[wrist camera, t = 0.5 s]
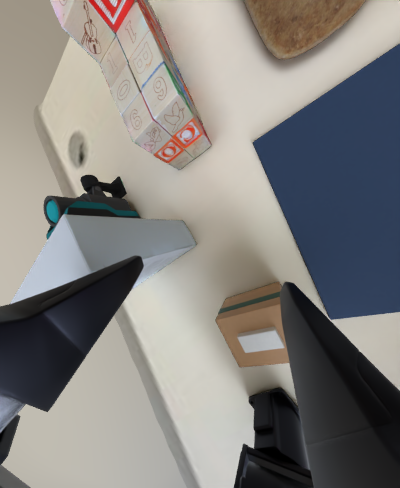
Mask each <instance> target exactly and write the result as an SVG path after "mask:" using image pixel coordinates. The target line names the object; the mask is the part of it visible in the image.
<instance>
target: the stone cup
mask: <svg viewBox="0 0 400 488" xmlns="http://www.w3.org/2000/svg"><path fill="white" fill-rule="evenodd" d="M244 1H245V4H246V6H247V9H248V11H249V14H250V16H251V18H252V21H253V23H254V25H255V27H256V29H257V31H258V33H259V35H260V37H261V38H262V40H263V42H264V44H265V45H266V47H267V48H268V50H269V51H270V52H271V53H272V54H273V55H274V56H275V57H276V58H279V59H282V60H285V59H290V58H294V57H296V56H298V55H300V54H302V53H304V52H306V51H308V50H310V49H312V48H313V47H315V46H316V45H318V44H319V43H321V42H322V41H324V40H325V39H326V38H328V37H329V36H330V35H331V34H333V33H334V32H335V31H336V30H337V29H339V28H340V27H341V26H342V25H344V24H345V23H346V22H347V21H348V20H349V19H350V18H351V17H352V16H353V15H354V14H355V13H356V12H357V11H358V10H359V8H360V7H361V6H362V5H363V3H364V2H365V0H244Z"/></svg>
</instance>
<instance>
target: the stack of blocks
mask: <svg viewBox="0 0 400 488" xmlns="http://www.w3.org/2000/svg"><path fill="white" fill-rule="evenodd" d="M50 2H51V4H52V7H53V9H54V11H55V13H56V16H57V18H58V20H59V22H60V24H61V27H62V28H63V29H64V30H65V31H66V32H67V33H68V34H69V35H70V36H71V37H72V38H73V39H74V40H75V41H76V42H77V43H78V44H79V45H80V46H81V47H82V48H83V49H84V50H85V51H86V52H87V53H88V54H90V55H91V56H92V57H93V58H94V59H95V60H96V61H97V62H98V63H99V64H100V67H101V69H102V71H103V74H104V76H105V78H106V81H107V83H108V85H109V87H110V91H111V94H112V96H113V98H114V101H115V103H116V105H117V108H118V110H119V112H120V115H121V116H122V117H123V120H124V122H125V124H126V127H127V129H128V132H129V133H130V136H131V138H132V141H133V142H134V143H136V144H137V145H139V146H141V147H142V148H144V149H146V150H147V151H149V152H151V153H152V154H153V155H154V156H155V157H157V158H159V159H160V160H162V161H164V162H166V163H168V164H169V165H171V166H173V167H175V168H176V169H178V170H180V169H181V168H183V167H184V166H185V165H187V164H188V163H189V162H191V161H192V160H193V159H194V158H196V157H197V156H199V155H200V154H201V153H203V152H204V151H205V150H206V149H208V148H209V147H210V146H211V143H210V141H209V138H208V136H207V134H206V132H205V130H204V127H203V123H202V121H201V119H200V117H199V114H198V112H197V110H196V108H195V105H194V103H193V100H192V98H191V96H190V94H189V91H188V89H187V87H186V85H185V84H184V81H183V79H182V77H181V74H180V72H179V70H178V68H177V65H176V63H175V61H174V59H173V56H172V54H171V52H170V48H169V46H168V43H167V41H166V39H165V37H164V34H163V32H162V30H161V27H160V25H159V22H158V20H157V18H156V15H155V13H154V11H153V9H152V7H151V5H150V4H149V2H148V0H50Z"/></svg>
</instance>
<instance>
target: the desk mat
mask: <svg viewBox="0 0 400 488" xmlns="http://www.w3.org/2000/svg"><path fill="white" fill-rule="evenodd" d="M253 145H254V147H255V150H256V152H257V154H258V156H259V159H260V161H261V163H262V165H263V168H264V170H265V172H266V175H267V177H268V179H269V181H270V184H271V186H272V188H273V190H274V193H275V195H276V197H277V200H278V202H279V204H280V206H281V209H282V211H283V213H284V215H285V218H286V220H287V222H288V225H289V227H290V229H291V231H292V234H293V236H294V238H295V240H296V243H297V245H298V247H299V250H300V252H301V254H302V256H303V259H304V261H305V263H306V265H307V268H308V270H309V272H310V275H311V277H312V279H313V281H314V284H315V286H316V288H317V290H318V293H319V295H320V297H321V300H322V302H323V304H324V306H325V309H326V311H327V313H328V315H329V318H330V319H331V320H333V319H341V318H350V317H359V316H367V315H376V314H385V313H393V312H400V44H398V45H397V46H395V47H394V48H392V49H391V50H389V51H388V52H386V53H385V54H383V55H382V56H380V57H379V58H377V59H376V60H374V61H373V62H371V63H370V64H368V65H367V66H365V67H364V68H362V69H361V70H359V71H358V72H357V73H355V74H354V75H352V76H351V77H349V78H348V79H346V80H345V81H343V82H342V83H340V84H339V85H337V86H336V87H334V88H333V89H331V90H330V91H328V92H327V93H325V94H324V95H322V96H321V97H319V98H318V99H316V100H315V101H313V102H312V103H310V104H309V105H307V106H306V107H304V108H303V109H301V110H300V111H298V112H297V113H296V114H294V115H293V116H291V117H290V118H288V119H287V120H285V121H284V122H282V123H281V124H279V125H278V126H276V127H275V128H273V129H272V130H270V131H269V132H267V133H266V134H264V135H263V136H261V137H260V138H258V139H257V140H255V141H254V142H253Z"/></svg>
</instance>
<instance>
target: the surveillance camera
mask: <svg viewBox="0 0 400 488" xmlns="http://www.w3.org/2000/svg"><path fill="white" fill-rule="evenodd" d="M81 183H82V186H83V188H84V190H85V191H86V192H87V194H85V193H84V194H82V195H81V196H80V197H77V198H67V197H58V196H47V197H46V198H45V201H44V214H45V216H46V219H47V221H48V223H49V224H50V225H51V226H50V228H49V230H48V233H47V239H49V237H50V236H51V234H52V232H53V231H54V229H55V227H56V226H57V224H58V222H59V220H60V218H61V217H62V215H63V214H66V215H81V216H100V217H119V218H139V219H141V218H140V217H139V215H138V214H137V212H136V211H131V209H130V206H129V204H128V202H127V200H125V199H121V198H122V197H123V196H124V195H126V194H127V193H126V191H125V188H124V186H123V184H122V181H121V179H120V177H117V178H116V179H115V180H114V181H113V182H112V183H111V184H109V183H103V182H99V181H98V179H97V178H96V177H95V176H93V175H85V176H82V177H81ZM103 191H104V192H109V193H111V194H112V197H106V195H105V194H104V192H103Z"/></svg>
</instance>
